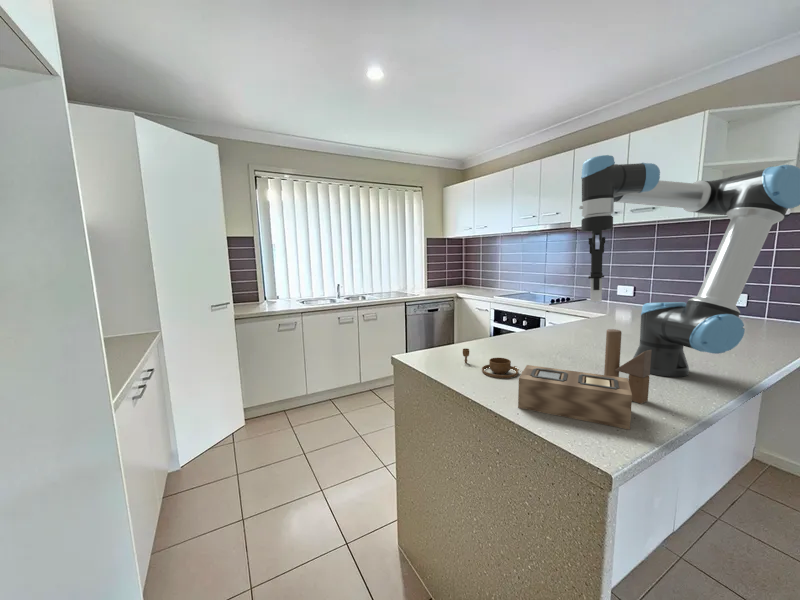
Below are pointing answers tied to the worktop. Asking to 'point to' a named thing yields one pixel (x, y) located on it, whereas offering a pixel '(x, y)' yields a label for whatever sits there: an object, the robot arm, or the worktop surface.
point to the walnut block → (576, 396)
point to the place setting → (496, 366)
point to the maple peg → (598, 381)
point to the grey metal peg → (549, 374)
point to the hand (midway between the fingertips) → (595, 301)
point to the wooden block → (628, 366)
